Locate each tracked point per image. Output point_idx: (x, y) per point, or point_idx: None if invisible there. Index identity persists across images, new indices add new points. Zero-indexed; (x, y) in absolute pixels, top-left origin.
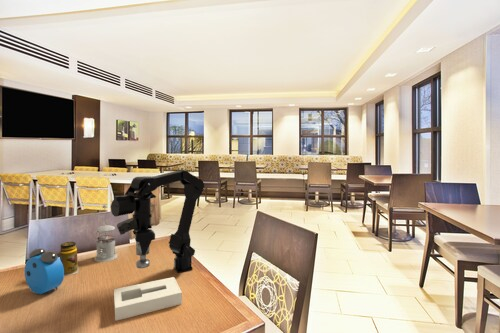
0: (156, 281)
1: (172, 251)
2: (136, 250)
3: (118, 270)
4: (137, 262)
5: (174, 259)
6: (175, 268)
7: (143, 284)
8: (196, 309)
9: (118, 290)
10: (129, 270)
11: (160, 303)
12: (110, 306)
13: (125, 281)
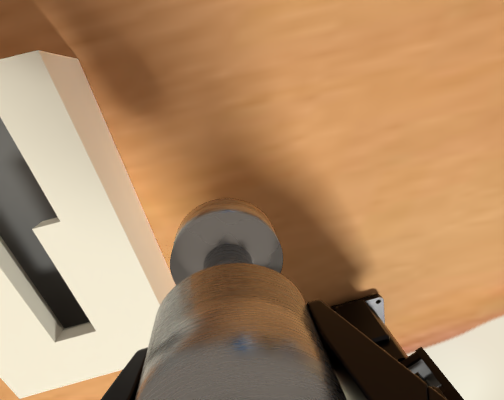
0: (138, 288)
1: (427, 358)
2: (187, 318)
3: (467, 3)
4: (212, 225)
5: (376, 336)
6: (338, 311)
7: (106, 230)
8: (12, 391)
9: (20, 89)
10: (435, 79)
11: None
12: (14, 49)
13: (299, 81)
